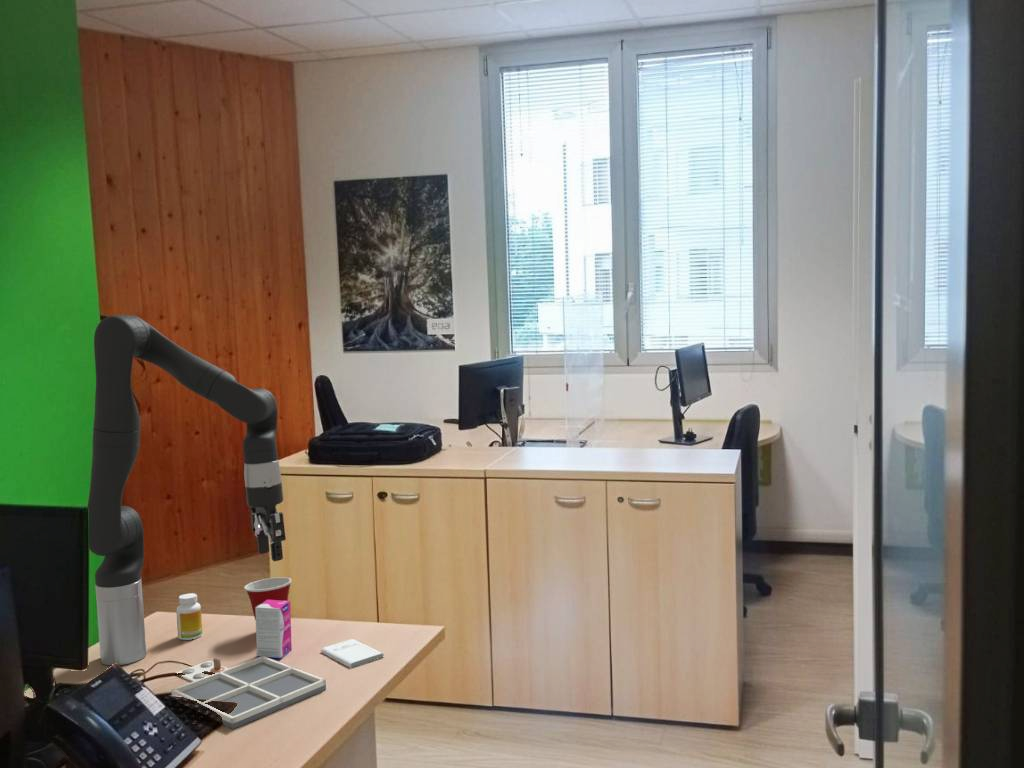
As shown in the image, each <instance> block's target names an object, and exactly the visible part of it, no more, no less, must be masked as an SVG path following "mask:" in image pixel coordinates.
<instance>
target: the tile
mask: <svg viewBox="0 0 1024 768" xmlns="http://www.w3.org/2000/svg"><path fill="white" fill-rule="evenodd" d="M229 668H230V667H226V666H224V665H222V661H221V657H215V658H213V661H212V660H207V661H205V662H200V663H199V664H195V665H193V666H190V667H187V668H185V669H181V670H179V671H175V673H177V674H178V673H183V674H185V675H182V677H183V678H182V677H181V678H182V679H184V680H186V681H189V682H190V683H191V682H193V681H196V680H199V679H202V678H204V677H207V676H210V675H208V674H204V673H202V672H204V671H208V672H213V673H218V672H221V671H223V670H226V669H229Z"/></svg>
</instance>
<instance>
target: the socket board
mask: <svg viewBox="0 0 1024 768" xmlns="http://www.w3.org/2000/svg"><path fill="white" fill-rule="evenodd" d="M228 668H229V669H226V670H223V671H221V672H218V673H215V674H212V675H210V676H207V677H204V678H202V679H199V680H196V681H193V682H191V681H190V682H188V683H185V684H182V685H180V686H177V687H174V688H172V689H170V691H171V692H170V695H177V696H181V697H185V698H187V699H190V700H194V701H197V703H199V704H201V705H203V706H205V707H207V708H209V709H210V710H212V711H214V712H216V713H217V714H218V715H220V716H221V717H222V722H223V724H224V725H223V724H222V725H223V726H225V725H226V726H225V727H227V728H229V729H231V730H234V729H237V728H239V727H241V726H244V725H246V724H248V723H250V722H253V721H255V720H258V719H260V718H262V717H265V716H266V715H269V714H271V713H274V712H278V711H279V710H282V709H283V708H286V707H288V705H289V706H291V705H292V704H293V705H294V704H296V703H297V702H300V701H302V700H305V699H307V698H310V697H312V696H314V695H317V694H318V693H322V692H324V691H325V690H327V685H326V683H327V682H326V678H323V677H320V676H317V675H315V674H313V673H312V674H311V673H309V672H306V671H305V670H301V669H298V668H296V667H293V666H290V665H288V664H285V663H282V662H280V661H279V660H273V659H270V658H267V657H265V656H261V657H259V658H257V657H256V658H254V659H251V660H248V661H245V662H243V663H240V664H237V665H235V666H232V667H228ZM195 698H198V699H209V700H206V701H204V702H201V701H199V700H197V699H195ZM211 701H222V702H235V703H237V706H236V707H235V708H234V710H233V711H232V712H231V713H229V714H227V713H225V712H222V711H220V710H218V709H216V708H214V707H212V706H210V705H208V704H205V703H208V702H211ZM295 702H296V703H295Z"/></svg>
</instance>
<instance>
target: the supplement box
mask: <svg viewBox="0 0 1024 768" xmlns="http://www.w3.org/2000/svg"><path fill="white" fill-rule="evenodd" d="M255 612H256V620H255V638H256V639H255V641H256V658H259V657H261V656H265V657H267V658H270V659H273V660H275V661H281V660H282V659H283V658H284V657H285V656H286V655H288V654H289V653H290V652H291V651H292V649H293V647H292V645H293V644H292V618H291V617H292V615H291V601H290V600H288V601H282V600H266V601H265V602H263V603H262V604H260V605H259V606H257V607H256V608H255Z"/></svg>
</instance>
